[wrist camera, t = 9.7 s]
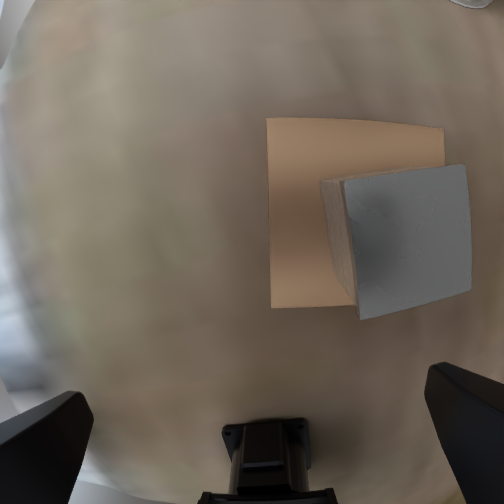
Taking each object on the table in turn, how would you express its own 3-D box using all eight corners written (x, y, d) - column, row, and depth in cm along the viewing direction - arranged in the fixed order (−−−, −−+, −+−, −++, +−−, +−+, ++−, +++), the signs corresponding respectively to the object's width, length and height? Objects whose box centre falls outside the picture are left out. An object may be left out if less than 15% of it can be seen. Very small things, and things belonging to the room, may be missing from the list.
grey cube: (416, 256, 15) (471, 290, 10) (331, 274, 15) (360, 320, 10) (406, 164, 14) (464, 164, 9) (315, 178, 14) (342, 181, 9)
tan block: (407, 276, 19) (435, 299, 15) (270, 281, 20) (270, 307, 16) (411, 135, 17) (443, 129, 13) (266, 129, 17) (266, 118, 14)
